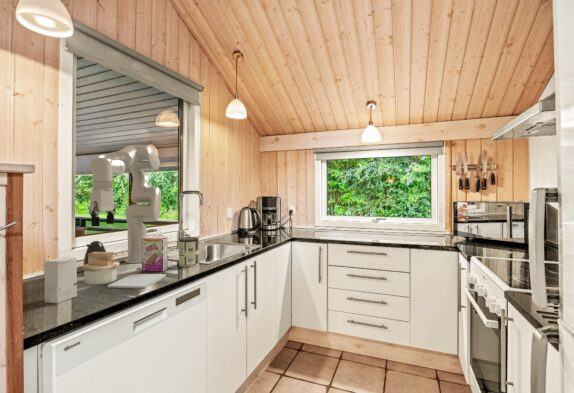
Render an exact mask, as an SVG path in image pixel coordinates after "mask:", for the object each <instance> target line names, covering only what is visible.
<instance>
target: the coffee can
mask: <svg viewBox="0 0 574 393" xmlns="http://www.w3.org/2000/svg"><path fill="white" fill-rule="evenodd" d="M199 255H200V254H199V237H198V236H197V237H196V236H187V237H186V236H185V237H180V238H178V266H179V267H182V268H190V267H191V268H192V267H196V266H198V265H200V264H199V262H200V261H199Z"/></svg>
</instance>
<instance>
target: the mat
mask: <svg viewBox="0 0 574 393" xmlns="http://www.w3.org/2000/svg"><path fill="white" fill-rule="evenodd" d="M165 277H167V274H164V273H160V274H158V273H132V274H129V275H127V276H125V277H123V278H120V279H117V281H116V280H115V281H113V282H111V283H110V284H108V285H107V288H112V289H143V290H144V289H147V288H148V287H150V286H152V285H154V284H155V283H157V282H159V281H160V280H162V279H163V278H165Z"/></svg>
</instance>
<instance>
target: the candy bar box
mask: <svg viewBox="0 0 574 393" xmlns="http://www.w3.org/2000/svg"><path fill="white" fill-rule="evenodd" d="M168 267H169V265H168V237H165V236H164V237H163V236H147V237H144V238H142V262H141V272H155V273H157V272H159V273H160V272H161V273H163V272H165V271H167V270H168V269H169V268H168Z"/></svg>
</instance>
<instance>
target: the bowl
mask: <svg viewBox="0 0 574 393" xmlns="http://www.w3.org/2000/svg"><path fill="white" fill-rule="evenodd" d="M83 271H84V270H83ZM116 280H117V281H118V267H116V268H113V269H108V270H102V271H84V284H85V285H91V286H98V285H104V284H109V283H110V284H111V283H114V282H116Z"/></svg>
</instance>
